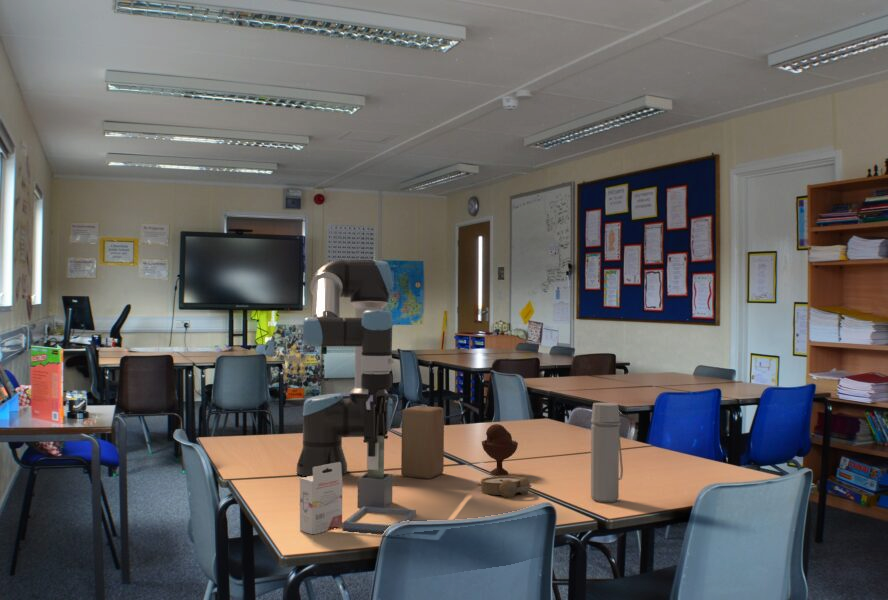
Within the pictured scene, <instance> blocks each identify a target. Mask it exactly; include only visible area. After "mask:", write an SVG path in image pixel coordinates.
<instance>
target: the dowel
mask: <svg viewBox="0 0 888 600" xmlns="http://www.w3.org/2000/svg"><path fill="white" fill-rule="evenodd" d="M377 443H379V460H378V470H369V469H367V472H366V473H367V478H371V479H384V474H385V473H384V472H385V470H384V469H385V467H384V466H385V439H384V436H381V435H378V437H377Z"/></svg>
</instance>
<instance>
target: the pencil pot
mask: <svg viewBox="0 0 888 600" xmlns="http://www.w3.org/2000/svg"><path fill="white" fill-rule="evenodd" d="M367 473H368V472H365V473H364V474H362V475H360V476H359V477H358V478H357V501H356V502H357V504H356V505H357V508H359V509H361V508H362V507H363V506H365V507H379V508H388V507H389V506H390V505H391V504H392V503H393V483H394V482H393V478H394V477H393V473H384V479H371V478H367Z"/></svg>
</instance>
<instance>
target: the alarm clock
mask: <svg viewBox="0 0 888 600" xmlns="http://www.w3.org/2000/svg"><path fill="white" fill-rule="evenodd" d="M480 482H481V483H478V484H477V487H481V493H482V494H486V495H496V496H497V495H498V496H499V495H501V496H502V497H504V498H508V499H509V498H512V497H514V496H515V494H518V493H520V494H521V495H526V494H528V493H529V491H530V489H531V487H532V484H530V480H529V479H528V478H527V477H525V476H521V477H520V476H519V477H518V476H513V475H512V476H511V475H508V476H507V475H495V476H490V477H489V476H488V477H485V478H481V479H480Z"/></svg>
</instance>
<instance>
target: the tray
mask: <svg viewBox="0 0 888 600" xmlns="http://www.w3.org/2000/svg"><path fill="white" fill-rule="evenodd" d="M365 513H375V514H378V513H379V514H389V515H390V514H391V515H403V516H405V517H404V518H403V519H402V520H401V521H407V520H410V521H412V520H413V518H414V517H415V516H416V515H417V509H407V508H393V507H392V508H389V507H386V508H379V507H365V506H363V507H362V508H359V509H358V510H357V511H355V512H354V513H353V514H351V516H350V517H348V518H346V519H345V520H344V521H342V532H343V531H348V532H347V533H354V532H359V533H358V534H367V533H371V534H370V535H382V534H383V533H384V531H385V530H386V529H387V528H388V527H389V526H391V525H392V524H381V523H369V522H356V520H358V519H359V518H360V517H361V516H362V515H364V514H365ZM382 536H383V535H382Z"/></svg>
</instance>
